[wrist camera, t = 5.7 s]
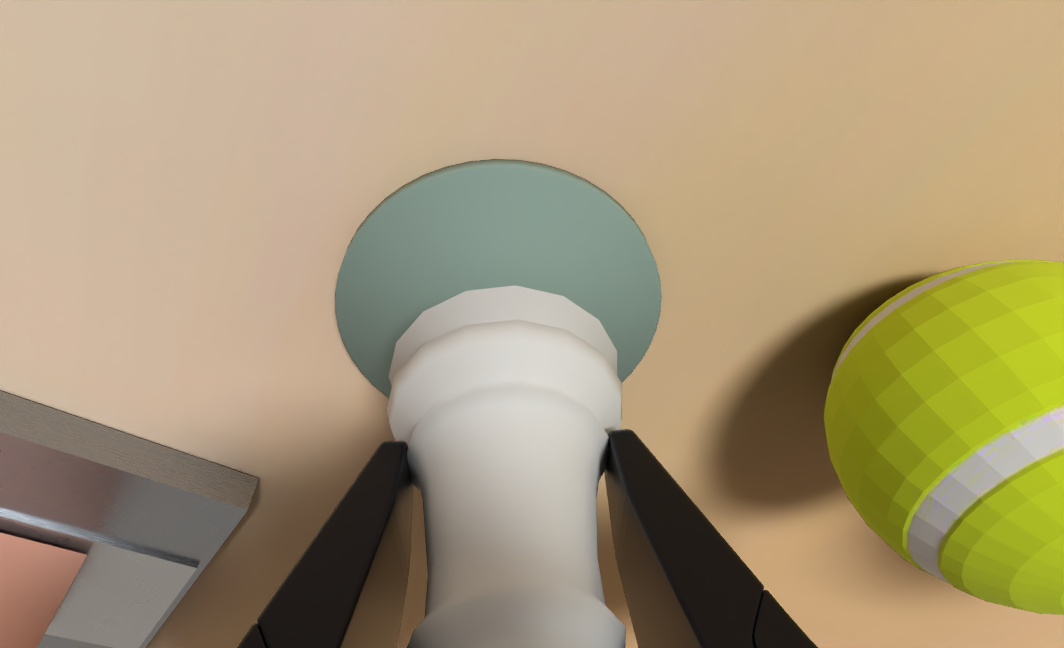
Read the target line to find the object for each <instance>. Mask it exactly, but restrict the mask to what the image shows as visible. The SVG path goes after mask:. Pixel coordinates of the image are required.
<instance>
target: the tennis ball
mask: <svg viewBox="0 0 1064 648" xmlns="http://www.w3.org/2000/svg"><path fill="white" fill-rule="evenodd" d="M824 424H825V433H826V439H827V445H828V450H829V456H830V460H831V462H832V465H833V467H834V469H835V472H836V474H837V476H838V478H839V481H840V483H841V485H842V487H843V489H844V491H845V493H846V495H847V497H848V499H849V500H850V502H851V503H852V505H853V506H854V507H855V509H856V510H857V511H858V513H859V514H860V516H861V517H862V518H863V520H864V521H865V522H866V524H867V525H868V526H869V527H870V528H871V529H872V530H873V531H874V532H875V533H877V534H878V535H879V536H880V537H881V538H882V539H883V540H884V541H885V542H886V543H887V544H888V545H889V546H890V547H892V548H893V549H894V550H895V551H896V552H897V553H898V554H899V555H900V556H902V557H903V558H904V559H905V560H907V561H908V562H910V563H911V564H913V565H914V566H916V567H917V568H919V569H921V570H923V571H925V572H927V573H930V574H932V575H934V576H936V577H938V578H940V579H942V580H944V581H946V582H948V583H950V584H952V585H953V586H954V587H955V588H957V589H959V590H961V591H964V592H966V593H968V594H970V595H973V596H975V597H977V598H980V599H982V600H984V601H987V602H991V603H996V604H1000V605H1004V606H1008V607H1013V608H1017V609H1021V610H1026V611H1030V612H1035V613H1040V614H1061V615H1064V263H1063V262H1053V261H1043V260H1007V261H995V262H985V263H979V264H974V265H969V266H963V267H958V268H954V269H951V270H948V271H945V272H942V273H939V274H936V275H933V276H930V277H928V278H926V279H924V280H922V281H920V282H918V283H915V284H913V285H911V286H909V287H907V288H906V289H904V290H903V291H901V292H899V293H898V294H896V295H895V296H893V297H891V298H890V299H888V300H887V301H886V302H884V303H883V304H882V305H881V306H880V307H878V308H877V309H876V310H875V311H873V312H872V313H871V314H870V315H869V316H868V317H867V318H866V319H865V320H864V321H863V322H862V323H861V324H860V325H859V326H858V327H857V328H856V329H855V331H854V332H853V334H852V335H851V336H850V338H849V339H848V341H847V342H846V344H845V345H844V347H843V349H842V351H841V353H840V356H839V358H838V360H837V362H836V365H835V367H834V369H833V373H832V379H831V384H830V386H829V388H828V393H827V398H826V403H825V410H824Z"/></svg>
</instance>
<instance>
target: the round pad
mask: <svg viewBox="0 0 1064 648" xmlns="http://www.w3.org/2000/svg"><path fill="white" fill-rule="evenodd" d="M515 285H516V286H521V287H525V288H530V289H534V290H539V291H543V292H548V293H552V294H557V295H561V296H564V297H566V298H567V299H569V300H570V301H572V302H573V303H575V304H576V305H578V306H579V307H581V308H582V309H584V310H585V311H586V312H588V313H589V314H591V315H592V316H594V317H595V318H597V319H598V320H599V321H600V323H601V324H602V326H603V328H604V329H605V331H606V333H607V335H608V336H609V338H610V340H611V342H612V343H613V345H614V347H615V348H616V350H617V376H618V378H619V380H620V381H621V383H622V382H623V381H624V380H625V379H626V378H627V377H628V376H629V375H630V374H631V373H632V372H633V370H634V369H635V368H636V366H637V365H638V364H639V362H640V361H641V360H642V358H643V356H644V355H645V353H646V351H647V349H648V348H649V346H650V344H651V341H652V339H653V336H654V334H655V332H656V328H657V324H658V320H659V316H660V308H661V285H660V277H659V273H658V269H657V265H656V262H655V260H654V257H653V255H652V253H651V250H650V248H649V246H648V243H647V241H646V239H645V236H644V235H643V233H642V232H641V230H640V228H639V227H638V225H637V224H636V222H635V221H634V219H633V218H632V217H631V216H630V215H629V214H628V212H627V211H626V210H625V209H624V208H623V207H622V206H621V205H620V204H619V203H618V202H617V201H616V200H614V199H613V198H612V197H611V196H610V195H609V194H607V193H606V192H605V191H603V190H602V189H600V188H599V187H597V186H595V185H594V184H592V183H591V182H589V181H587V180H586V179H583V178H581V177H579V176H577V175H574V174H572V173H570V172H568V171H565V170H562V169H559V168H555V167H552V166H549V165H545V164H541V163H535V162H528V161H522V160H504V159H491V160H480V161H470V162H465V163H461V164H456V165H452V166H447V167H444V168H441V169H439V170H436V171H433V172H430V173H428V174H425V175H423V176H421V177H419V178H417V179H415V180H413V181H411V182H409V183H407V184H405V185H404V186H402V187H401V188H399V189H398V190H396V191H395V192H394V193H392V194H391V195H389V196H388V197H387V198H385V199H384V200H383V201H382V202H381V203H380V204H379V205H378V206H377V207H376V208H375V209H374V210H373V211H372V212H371V213H370V214H369V215H368V216H367V218H366V219H365V220H364V221H363V223H362V224H361V225H360V227H359V228H358V229H357V231H356V233H355V235H354V237H353V238H352V240H351V242H350V244H349V246H348V248H347V251H346V254H345V257H344V260H343V263H342V265H341V268H340V271H339V274H338V280H337V286H336V292H335V311H336V317H337V323H338V328H339V331H340V334H341V337H342V340H343V343H344V345H345V347H346V349H347V351H348V353H349V355H350V357H351V359H352V360H353V362H354V363H355V364H356V366H357V367H358V368H359V370H360V371H361V373H362V374H363V375H364V376H365V377H366V378H367V379H368V380H369V381H370V382H371V383H372V384H373V385H374V386H375V387H376V388H377V389H378V390H380V391H381V392H382V393H383V394H384V395H386V396H387V397H388V398H389V397H390V393H391V389H392V386H391V383H390V380H389V372H390V368H391V363H392V359H393V355H394V350H395V346H396V342H397V341H398V340H399V339H400V338H401V336H402V335H403V334H404V333H405V332H406V331H407V330H408V328H409V327H410V326H411V325H412V324H413V323H414V322H415V320H416V319H417V318H418V317H419V316H420V315H421V314H422V312H423V311H425V310H427V309H430V308H432V307H434V306H436V305H438V304H440V303H442V302H444V301H446V300H448V299H450V298H452V297H454V296H456V295H459V294H461V293H463V292H465V291H469V290H478V289H487V288H496V287H505V286H515Z"/></svg>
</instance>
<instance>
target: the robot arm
mask: <svg viewBox="0 0 1064 648" xmlns="http://www.w3.org/2000/svg"><path fill="white" fill-rule="evenodd" d="M607 435H608V436H609V446H608V457H607V466H606V469H605V471H604V473H605V481H606V489H607V496H608V504H609V512H610V519H611V527H612V535H613V542H614V549H615V555H616V560H617V564H618V569H619V573H620V577H621V581H622V585H623V589H624V593H625V597H626V601H627V605H628V609H629V613H630V616H631V620H632V624H633V628H634V632H635V636H636V640H637V644H638V648H818V647H817V646H816V645H815V644H814V643H813V642H812V641H811V640H810V639H809V638H808V637H807V635H806V634H805V633H804V632H803V631H802V630H801V629H800V627H799V626H798V625H797V624H796V623H795V622H794V621H793V620H792V618H791V617H790V616H789V615H788V614H787V613H786V612H785V611H784V609H783V608H782V607H781V606H780V605H779V603H778V602H777V601H776V600H775V599H774V597H773V596H772V595H771V594H770V593H769V591H767V590H764V586H763V585H762V583H761V582H760V581H759V580H758V579H757V577H756V576H755V575H754V574H753V573H752V571H751V570H750V569H749V568H748V567H747V566H746V564H745V563H744V562H743V561H742V560H741V558H740V557H739V556H738V555H737V554H736V552H735V551H734V550H733V549H732V548H731V547H730V545H729V544H728V543H727V542H726V541H725V539H724V538H723V537H722V536H721V535H720V533H719V532H718V531H717V530H716V529H715V528H714V526H713V525H712V524H711V523H710V522H709V520H708V519H707V518H706V517H705V516H704V515H703V513H702V512H701V511H700V510H699V509H698V507H697V506H696V505H695V504H694V503H693V501H692V500H691V499H690V498H689V497H688V496H687V494H686V493H685V492H684V491H683V490H682V488H681V487H680V486H679V485H678V484H677V482H676V481H675V480H674V479H673V478H672V477H671V475H670V474H669V473H668V472H667V471H666V469H665V468H664V467H663V466H662V465H661V463H660V462H659V461H658V460H657V459H656V458H655V456H654V455H653V454H652V453H651V452H650V450H649V449H648V448H647V447H646V446H645V444H644V443H643V442H642V441H641V440H640V439H639V437H638V436H637V435H636V434H635V433H634V432H633V431H632V430H628V429H626V430H611V431H609V432H608V434H607ZM407 450H408V445H407V443H406V442H405V441H389V442H383V443H381V444H380V445H379V447H378V448H377V450H376V451H375V452H374V454H373V455H372V457H371V458H370V459H369V461H368V462H367V464H366V465H365V467H364V468H363V469H362V471H361V472H360V474H359V475H358V477H357V478H356V479H355V481H354V482H353V484H352V485H351V487H350V488H349V489H348V491H347V492H346V494H345V495H344V497H343V498H342V499H341V501H340V502H339V504H338V505H337V506H336V508H335V509H334V511H333V512H332V514H331V515H330V516H329V518H328V519H327V521H326V522H325V524H324V525H323V526H322V528H321V529H320V531H319V532H318V534H317V535H316V536H315V538H314V539H313V541H312V542H311V544H310V545H309V546H308V548H307V549H306V551H305V552H304V554H303V555H302V556H301V558H300V559H299V561H298V562H297V563H296V565H295V566H294V568H293V569H292V571H291V572H290V573H289V575H288V576H287V578H286V579H285V581H284V582H283V583H282V585H281V586H280V588H279V589H278V591H277V592H276V593H275V595H274V596H273V598H272V599H271V601H270V602H269V603H268V605H267V606H266V608H265V609H264V610H263V612H262V613H261V615H260V616H259V618H258V620H257V621H258V624H259V625H258V624H254V625H253V626H252V627H251V629H250V630H249V631H248V633H247V634H246V636H245V637H244V639H243V640H242V642H241V643H240V644H239V646H238V647H237V648H397V643H398V637H399V631H400V625H401V619H402V613H403V607H404V600H405V594H406V588H407V582H408V574H409V565H410V549H411V526H412V503H413V482H412V478H411V474H410V469H409V465H408V460H407ZM763 590H764V591H763Z"/></svg>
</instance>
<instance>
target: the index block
mask: <svg viewBox="0 0 1064 648" xmlns="http://www.w3.org/2000/svg"><path fill="white" fill-rule="evenodd" d="M86 557H87V555H86V554H82V553H78V552H74V551H70V550H67V549H63V548H59V547H55V546H51V545H47V544H43V543H39V542H35V541H31V540H27V539H23V538H19V537H16V536H12V535H8V534H4V533H0V648H37V647H38V645H39V643H40V642H41V640H42V638H43V636H44V634H45V633H46V631H47V629H48V627H49V625H50V623H51V621H52V620H53V618H54V616H55V614H56V612H57V610H58V609H59V607H60V605H61V603H62V601H63V599H64V597H65V596H66V594H67V592H68V590H69V588H70V586H71V584H72V583H73V581H74V579H75V577H76V575H77V573H78V571H79V570H80V568H81V566H82V564H83V562H84V560H85V559H86Z"/></svg>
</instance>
